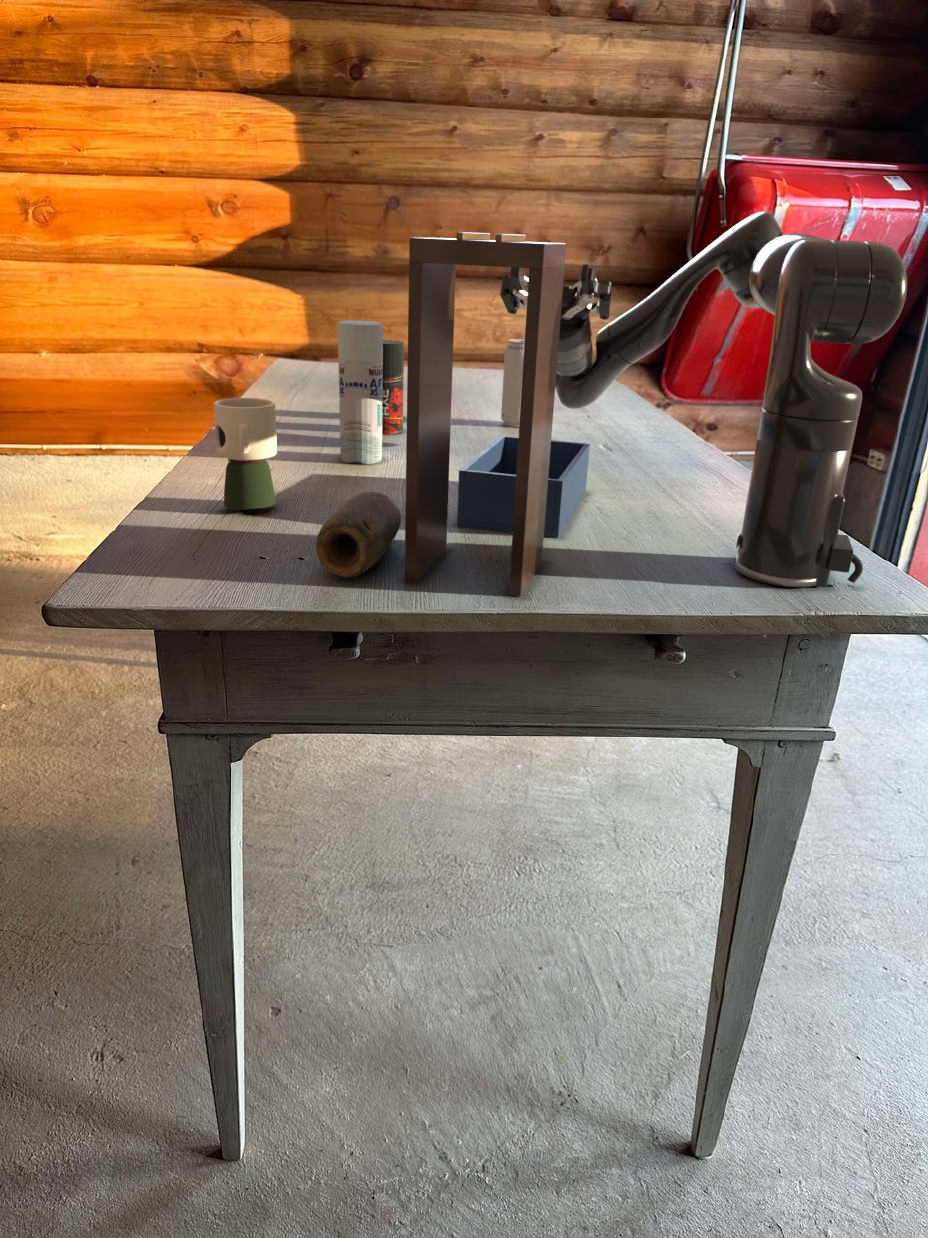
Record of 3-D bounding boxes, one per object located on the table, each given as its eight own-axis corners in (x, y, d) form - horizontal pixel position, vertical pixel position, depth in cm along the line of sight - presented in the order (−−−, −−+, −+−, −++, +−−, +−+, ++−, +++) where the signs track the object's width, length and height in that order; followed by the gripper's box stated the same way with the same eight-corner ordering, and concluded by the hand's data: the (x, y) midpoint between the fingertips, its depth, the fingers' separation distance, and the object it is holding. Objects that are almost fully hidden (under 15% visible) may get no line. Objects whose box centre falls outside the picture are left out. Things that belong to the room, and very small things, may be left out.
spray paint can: (345, 453, 142) (344, 319, 134) (386, 456, 142) (387, 321, 134) (334, 462, 136) (332, 323, 129) (377, 465, 136) (377, 325, 128)
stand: (541, 561, 99) (566, 236, 86) (520, 597, 89) (545, 235, 76) (436, 548, 102) (445, 231, 89) (404, 581, 92) (409, 229, 79)
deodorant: (372, 434, 156) (372, 343, 150) (366, 427, 161) (365, 339, 155) (406, 433, 158) (407, 343, 152) (398, 426, 163) (399, 339, 157)
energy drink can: (515, 420, 173) (520, 338, 167) (539, 425, 169) (545, 341, 163) (494, 423, 169) (498, 339, 163) (518, 429, 165) (524, 343, 159)
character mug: (223, 496, 117) (216, 394, 112) (280, 496, 118) (275, 394, 113) (217, 521, 107) (209, 410, 102) (278, 521, 109) (274, 411, 104)
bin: (585, 492, 126) (590, 443, 124) (558, 537, 107) (562, 481, 104) (498, 483, 129) (501, 435, 127) (456, 525, 110) (458, 470, 107)
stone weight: (383, 587, 90) (383, 522, 87) (313, 582, 90) (311, 518, 88) (403, 540, 104) (404, 482, 101) (342, 536, 104) (342, 479, 102)
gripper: (518, 299, 130) (499, 237, 115) (618, 305, 127) (612, 243, 111) (510, 349, 129) (489, 294, 114) (610, 356, 126) (603, 301, 111)
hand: (550, 269), depth 113 cm, fingers open, 8 cm apart
